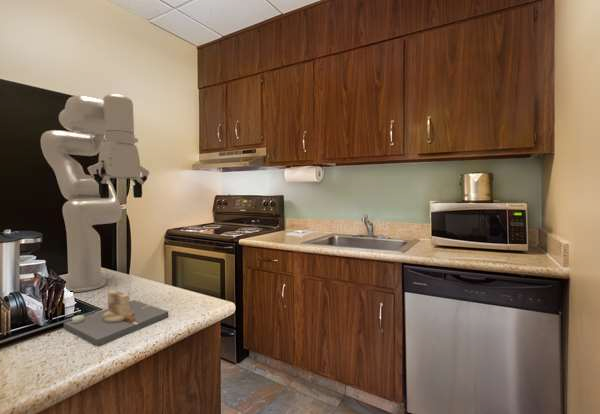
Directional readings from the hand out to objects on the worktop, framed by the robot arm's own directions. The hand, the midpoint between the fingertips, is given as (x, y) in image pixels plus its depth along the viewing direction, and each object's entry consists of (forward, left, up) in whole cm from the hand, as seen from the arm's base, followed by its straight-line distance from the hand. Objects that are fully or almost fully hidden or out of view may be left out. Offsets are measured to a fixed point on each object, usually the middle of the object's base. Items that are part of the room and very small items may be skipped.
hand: (122, 197), depth 87 cm
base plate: (+10, -7, -33) cm, 35 cm away
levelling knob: (+12, -7, -31) cm, 34 cm away
